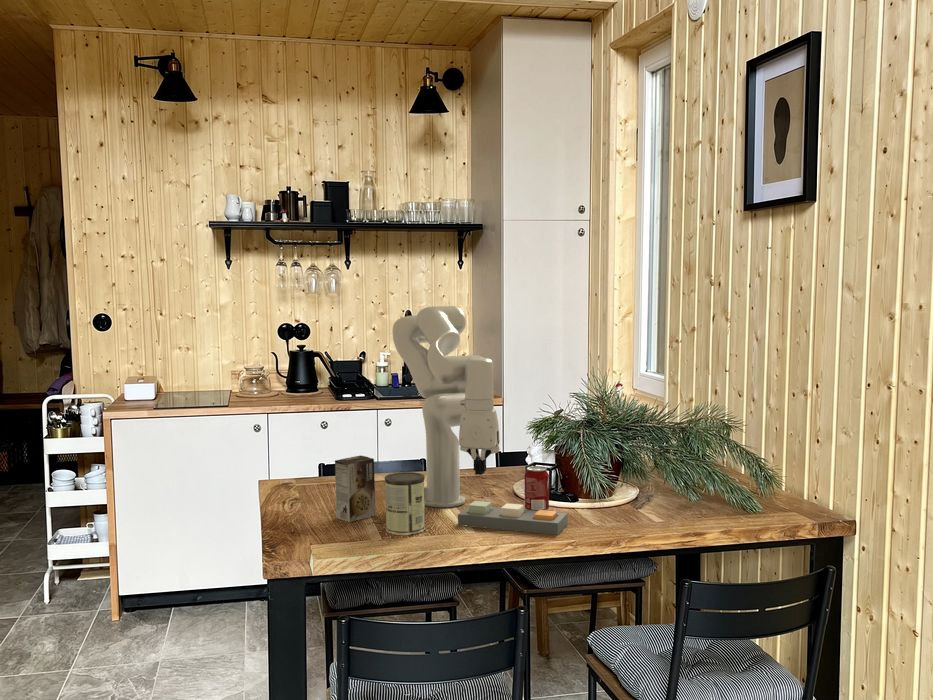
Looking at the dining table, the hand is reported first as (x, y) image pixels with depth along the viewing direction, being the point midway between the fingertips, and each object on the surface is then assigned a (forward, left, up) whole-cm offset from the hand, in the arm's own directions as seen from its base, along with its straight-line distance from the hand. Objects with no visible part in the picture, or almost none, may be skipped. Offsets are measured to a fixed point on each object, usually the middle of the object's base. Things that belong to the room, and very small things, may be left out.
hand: (480, 473), depth 234 cm
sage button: (0, 0, -11) cm, 11 cm away
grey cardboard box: (-34, -6, -13) cm, 37 cm away
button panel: (+9, 0, -13) cm, 16 cm away
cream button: (+9, 0, -11) cm, 14 cm away
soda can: (+11, +16, -13) cm, 24 cm away
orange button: (+18, 0, -12) cm, 21 cm away
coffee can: (-16, -13, -13) cm, 25 cm away
